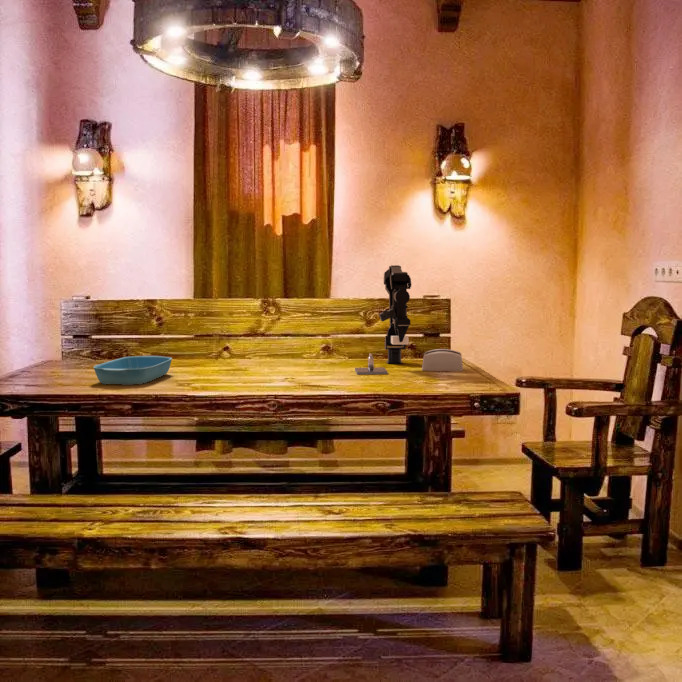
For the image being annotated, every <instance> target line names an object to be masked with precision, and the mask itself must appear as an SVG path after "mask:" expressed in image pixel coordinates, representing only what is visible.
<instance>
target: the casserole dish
mask: <svg viewBox="0 0 682 682" xmlns="http://www.w3.org/2000/svg"><path fill="white" fill-rule="evenodd" d="M172 360H173V357H171V356H162V355H136V356H132V355H131V356H124V357H120V358H116V359H113V360H110V361H105V362H103V363H98V364H96V365H94V366H93V371H94V372H95V376H96V378H97V380H98V382H100V383H101V384H102V385H106V384H122V385H121V386H134V385H133V384H139V385H144V384H147V382H148V383H150V382H153V381H155V380H157V379H156V378H158V379H160V378H162V377H164V376H165V375H167V373H168V372H169V370H170V367H171V363H172ZM163 375H164V376H163ZM161 376H162V377H161ZM159 377H160V378H159ZM154 379H155V380H154ZM152 380H153V381H152ZM149 381H150V382H149ZM143 383H144V384H143Z"/></svg>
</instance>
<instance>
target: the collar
mask: <svg viewBox="0 0 682 682" xmlns="http://www.w3.org/2000/svg"><path fill="white" fill-rule="evenodd" d="M391 343H392V344H393V345H405V344H406V345H409V343H410V342H409V336H407V335H405V336H404V339H403V341H402V342H399V336H391Z"/></svg>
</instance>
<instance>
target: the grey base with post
mask: <svg viewBox="0 0 682 682" xmlns="http://www.w3.org/2000/svg"><path fill="white" fill-rule="evenodd" d="M354 371H355V373H356V375H359V376H360V375H388V370H387V369H386V368H385V367H382V366H381V367H374V357H373V353H369V354H368V357H367V367H354Z"/></svg>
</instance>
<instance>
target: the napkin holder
mask: <svg viewBox="0 0 682 682" xmlns="http://www.w3.org/2000/svg"><path fill="white" fill-rule="evenodd" d="M421 371H428V372H436V371H437V372H440V371H441V372H463V371H464V366H463V358H462V353H461V352H460V351H457V350H454V349H447V348H436V349H431V350H428V351H425V352H424V354H423V358H422V365H421Z"/></svg>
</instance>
